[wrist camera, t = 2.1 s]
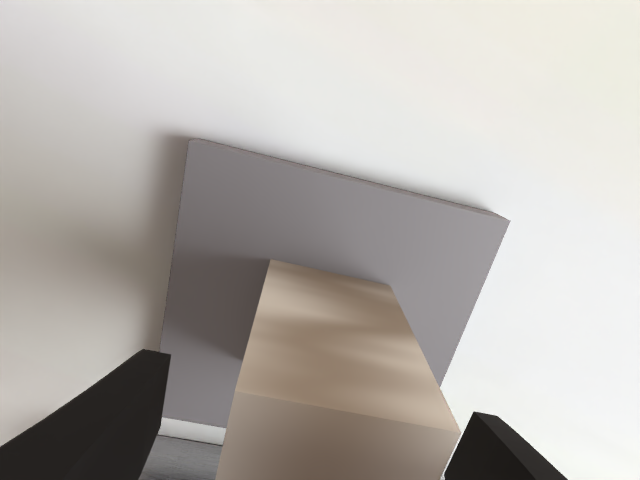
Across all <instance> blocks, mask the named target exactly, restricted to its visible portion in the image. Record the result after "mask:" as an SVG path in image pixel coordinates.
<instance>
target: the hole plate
mask: <svg viewBox="0 0 640 480" xmlns="http://www.w3.org/2000/svg"><path fill="white" fill-rule="evenodd" d="M222 447H223V446H218V445H213V444H207V443H201V442H195V441H189V440H183V439H177V438H171V437H165V436H159V435H157V436H156V439H155V441H154V444H153V446H152V449H151V451H150V454H149V456H148V458H147V461H146V463H145V466H144V468H143V470H142V473H141V475H140V477H139V479H138V480H215V478H216V474H217V469H218V465H219V460H220V456H221V451H222Z"/></svg>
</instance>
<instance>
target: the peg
mask: <svg viewBox="0 0 640 480" xmlns="http://www.w3.org/2000/svg"><path fill="white" fill-rule="evenodd" d="M460 434H461V431H460V429H459V427H458V425H457V423H456V421H455V419H454V417H453V415H452V413H451V410H450V408H449V406H448V404H447V402H446V400H445V398H444V396H443V394H442V392H441V390H440V388H439V386H438V383H437V381H436V379H435V377H434V375H433V373H432V371H431V369H430V367H429V365H428V363H427V361H426V359H425V357H424V354H423V352H422V350H421V348H420V346H419V344H418V342H417V340H416V338H415V336H414V334H413V332H412V330H411V327H410V325H409V323H408V321H407V319H406V317H405V315H404V313H403V311H402V309H401V307H400V305H399V303H398V301H397V298H396V296H395V294H394V292H393V290H392V288H391V286H390V285H385V284H381V283H376V282H372V281H367V280H363V279H358V278H354V277H349V276H345V275H340V274H336V273H331V272H327V271H322V270H318V269H313V268H309V267H304V266H300V265H295V264H291V263H286V262H282V261H277V260H273V259H271V260H270V263H269V267H268V271H267V274H266V278H265V282H264V285H263V289H262V293H261V296H260V300H259V304H258V307H257V311H256V315H255V318H254V322H253V326H252V329H251V333H250V337H249V341H248V344H247V348H246V352H245V355H244V359H243V363H242V366H241V370H240V374H239V377H238V381H237V385H236V388H235V392H234V397H233V401H232V406H231V410H230V415H229V419H228V424H227V429H226V433H225V438H224V442H223V447H222V451H221V456H220V460H219V465H218V469H217V474H216V478H215V480H439V479H440V477H441V475H442V473H443V471H444V469H445V466H446V464H447V462H448V460H449V458H450V456H451V454H452V451H453V449H454V447H455V445H456V443H457V441H458V439H459V436H460Z"/></svg>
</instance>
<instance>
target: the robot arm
mask: <svg viewBox="0 0 640 480" xmlns="http://www.w3.org/2000/svg"><path fill="white" fill-rule="evenodd" d="M170 360H171V354H166V353H161V352H156V351H151V350H145V349H143V350H141V351H139V352H138V353H136V354H135V355H133V356H132V357H131V358H129V359H128V360H127V361H125V362H124V363H123V364H121V365H120V366H119V367H117V368H116V369H115V370H113V371H112V372H110V373H109V374H108V375H106V376H105V377H104V378H102V379H101V380H99V381H98V382H97V383H95V384H94V385H93V386H91V387H90V388H88V389H87V390H86V391H84V392H83V393H81V394H80V395H78V396H77V397H75V398H74V399H72V400H71V401H70V402H68V403H67V404H65V405H64V406H62V407H61V408H59V409H58V410H56V411H55V412H54V413H52V414H51V415H49V416H48V417H46V418H45V419H43V420H42V421H40V422H39V423H37V424H35V425H34V426H32V427H31V428H29V429H27V430H26V431H24V432H23V433H21V434H20V435H18V436H16V437H15V438H13V439H12V440H10V441H9V442H7V443H5V444H4V445H2V446H1V447H0V480H138V479H139V477H140V475H141V473H142V470H143V468H144V466H145V463H146V461H147V458H148V456H149V454H150V451H151V449H152V446H153V444H154V441H155V439H156V436H157V434H158V431H159V429H160V426H161V419H162V413H163V406H164V399H165V393H166V386H167V380H168V373H169V366H170ZM444 476H445V480H568V479H567V478H565V477H564V476H563V475H562V474H561V473H560V472H559V471H558V470H557V469H556V468H555V467H554V466H553V465H551V464H550V463H549V462H548V461H547V460H546V459H545V458H544V457H543V456H542V455H541V454H540V453H539V452H538V451H536V450H535V449H534V448H533V447H532V446H531V445H530V444H529V443H528V442H527V441H526V440H524V439H523V438H522V437H521V436H520V435H519V434H518V433H517V432H516V431H514V430H513V429H512V428H511V427H510V426H509V425H507V424H506V423H505V422H504V421H503V420H501V419H500V418H499V417H498V416H495V415H489V414H484V413H479V412H473V414H472V416H471V418H470V420H469V423H468V425H467V427H466V429H465V431H464V433H463V435H462V437H461V440H460V442H459V444H458V446H457V448H456V450H455V452H454V454H453V457H452V459H451V461H450V463H449V465H448V467H447V469H446V471H445V474H444Z"/></svg>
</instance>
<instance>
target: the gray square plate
mask: <svg viewBox="0 0 640 480" xmlns="http://www.w3.org/2000/svg"><path fill="white" fill-rule="evenodd" d="M509 223H510V221H509V220H507V219H506V218H504V217H502V216H500V215H498V214H496V213H493V212H489V211H485V210H481V209H477V208H473V207H469V206H465V205H461V204H457V203H453V202H449V201H445V200H441V199H437V198H433V197H429V196H425V195H421V194H417V193H413V192H409V191H405V190H401V189H397V188H393V187H389V186H385V185H381V184H377V183H373V182H369V181H365V180H361V179H358V178H354V177H350V176H346V175H342V174H338V173H334V172H330V171H326V170H322V169H318V168H314V167H310V166H306V165H302V164H298V163H294V162H290V161H286V160H282V159H278V158H274V157H270V156H266V155H262V154H258V153H254V152H250V151H246V150H242V149H238V148H234V147H230V146H226V145H222V144H218V143H215V142H211V141H207V140H203V139H194V140H189V144H188V151H187V158H186V165H185V172H184V179H183V186H182V194H181V201H180V208H179V215H178V222H177V229H176V236H175V244H174V251H173V258H172V265H171V272H170V279H169V286H168V293H167V301H166V308H165V315H164V322H163V329H162V336H161V343H160V351H159V352H161V353H166V354H171V360H170V366H169V373H168V380H167V386H166V393H165V399H164V406H163V413H162V417H165V418H171V419H177V420H182V421H188V422H194V423H200V424H205V425H211V426H217V427H223V428H227V424H228V419H229V415H230V410H231V406H232V401H233V397H234V392H235V388H236V385H237V381H238V377H239V374H240V370H241V366H242V363H243V359H244V355H245V352H246V348H247V344H248V341H249V337H250V333H251V329H252V326H253V322H254V318H255V315H256V311H257V307H258V304H259V300H260V296H261V293H262V289H263V285H264V282H265V278H266V274H267V271H268V267H269V263H270V260H271V259H273V260H277V261H282V262H286V263H291V264H295V265H300V266H304V267H309V268H313V269H318V270H322V271H327V272H331V273H336V274H340V275H345V276H349V277H354V278H358V279H363V280H367V281H372V282H376V283H381V284H385V285H390V286H391V288H392V290H393V292H394V294H395V296H396V298H397V301H398V303H399V305H400V307H401V309H402V311H403V313H404V315H405V317H406V319H407V321H408V323H409V325H410V327H411V330H412V332H413V334H414V336H415V338H416V340H417V342H418V344H419V346H420V348H421V350H422V352H423V354H424V357H425V359H426V361H427V363H428V365H429V367H430V369H431V371H432V373H433V375H434V377H435V379H436V381H437V383H438V386H439V388H440V386H441V384H442V381H443V379H444V377H445V374H446V372H447V369H448V367H449V365H450V362H451V360H452V358H453V355H454V353H455V351H456V348H457V346H458V343H459V341H460V339H461V336H462V334H463V332H464V329H465V327H466V325H467V322H468V320H469V317H470V315H471V313H472V310H473V308H474V306H475V303H476V301H477V299H478V296H479V294H480V291H481V289H482V287H483V284H484V282H485V280H486V277H487V275H488V273H489V270H490V268H491V266H492V263H493V261H494V258H495V256H496V254H497V251H498V249H499V247H500V244H501V242H502V240H503V237H504V235H505V232H506V230H507V228H508V225H509Z"/></svg>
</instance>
